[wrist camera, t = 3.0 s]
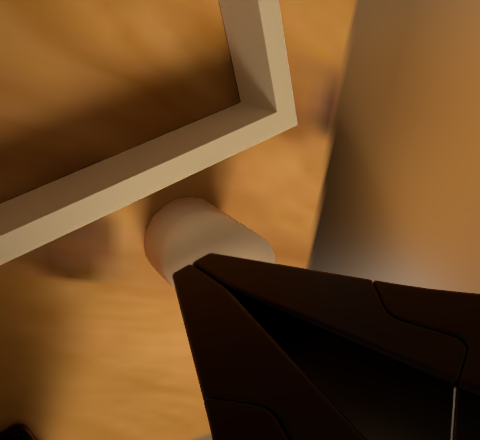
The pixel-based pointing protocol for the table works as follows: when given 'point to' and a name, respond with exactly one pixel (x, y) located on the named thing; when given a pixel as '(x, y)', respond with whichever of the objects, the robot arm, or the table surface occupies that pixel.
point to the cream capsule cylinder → (198, 237)
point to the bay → (168, 140)
